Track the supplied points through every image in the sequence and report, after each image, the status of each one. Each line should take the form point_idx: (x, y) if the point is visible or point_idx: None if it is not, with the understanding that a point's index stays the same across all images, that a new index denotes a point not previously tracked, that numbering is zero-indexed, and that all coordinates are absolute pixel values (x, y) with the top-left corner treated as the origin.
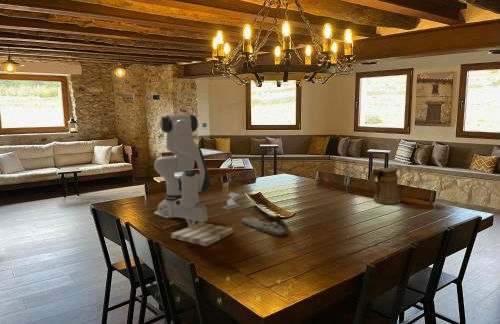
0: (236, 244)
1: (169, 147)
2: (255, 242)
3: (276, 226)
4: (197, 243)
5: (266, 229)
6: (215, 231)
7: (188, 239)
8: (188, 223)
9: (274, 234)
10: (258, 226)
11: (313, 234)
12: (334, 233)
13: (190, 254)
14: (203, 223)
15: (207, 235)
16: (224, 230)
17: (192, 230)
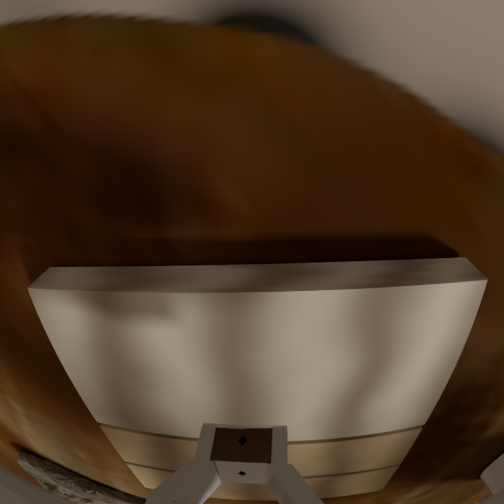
0: (9, 365)
1: None
2: (3, 400)
3: (51, 488)
4: (124, 270)
5: (59, 479)
6: (173, 456)
7: (238, 279)
8: (274, 469)
9: (34, 457)
10: (104, 498)
11: (9, 460)
12: (2, 463)
13: (28, 72)
14: (346, 491)
15: (143, 399)
16: (149, 470)
17: (342, 424)
